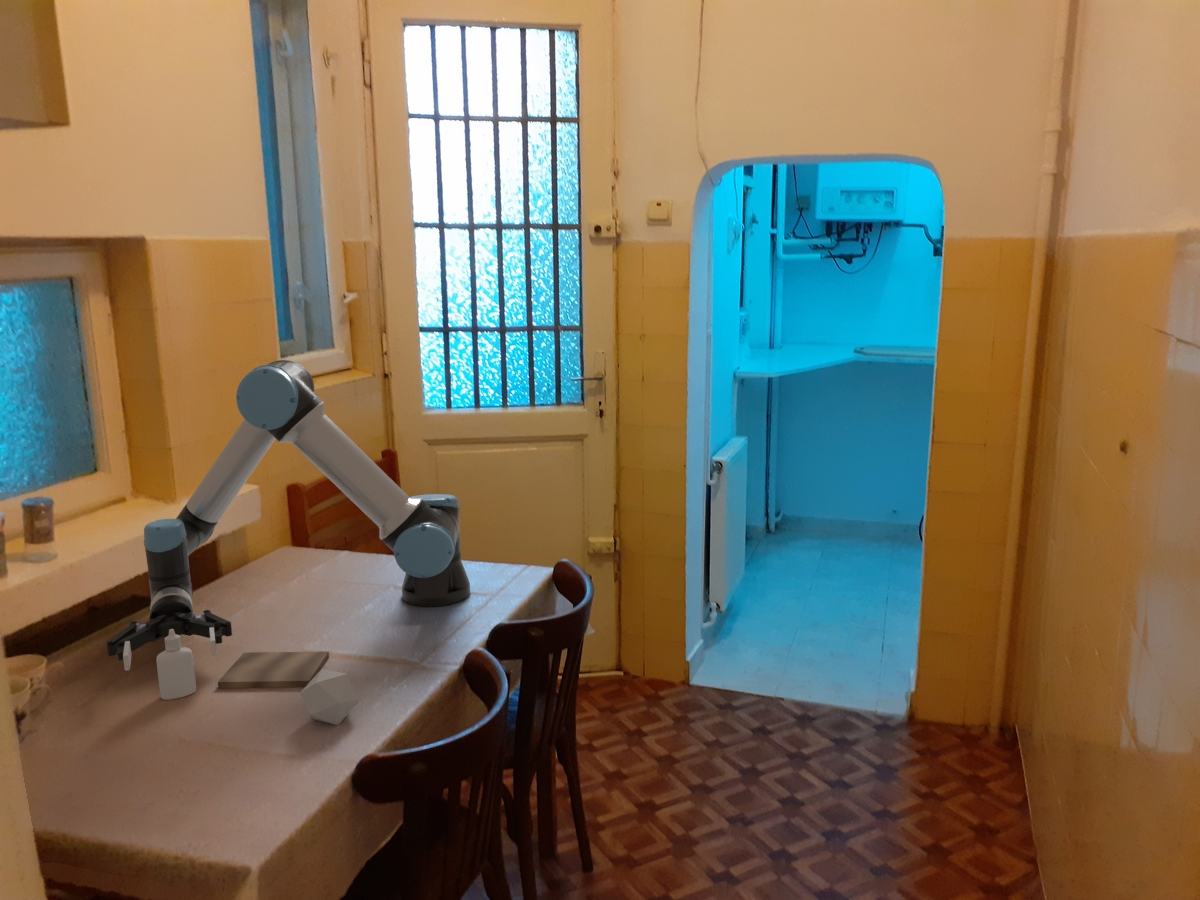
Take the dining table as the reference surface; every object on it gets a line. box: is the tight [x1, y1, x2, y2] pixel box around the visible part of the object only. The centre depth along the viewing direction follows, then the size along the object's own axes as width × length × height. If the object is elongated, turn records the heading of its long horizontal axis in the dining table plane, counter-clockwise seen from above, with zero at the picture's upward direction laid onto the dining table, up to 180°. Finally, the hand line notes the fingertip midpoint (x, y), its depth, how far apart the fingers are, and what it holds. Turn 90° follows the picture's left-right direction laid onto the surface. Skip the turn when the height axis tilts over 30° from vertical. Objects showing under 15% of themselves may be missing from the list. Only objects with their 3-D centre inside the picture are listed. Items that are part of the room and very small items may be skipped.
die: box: [299, 668, 360, 726], centre depth 142 cm, size 8×9×10 cm
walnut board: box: [217, 650, 330, 689], centre depth 159 cm, size 16×12×1 cm
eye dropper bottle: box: [155, 629, 197, 701], centre depth 150 cm, size 4×6×12 cm
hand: (170, 655), depth 151 cm, fingers open, 13 cm apart
